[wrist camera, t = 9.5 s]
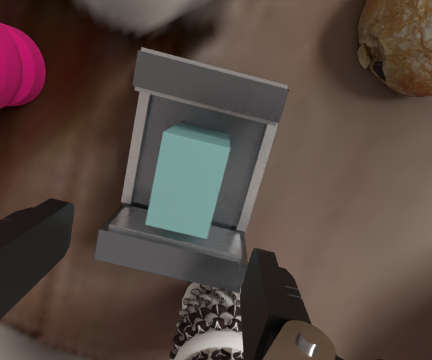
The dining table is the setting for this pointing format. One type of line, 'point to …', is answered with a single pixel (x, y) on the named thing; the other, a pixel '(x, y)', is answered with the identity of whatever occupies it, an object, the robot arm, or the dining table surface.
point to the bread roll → (398, 44)
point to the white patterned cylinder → (209, 325)
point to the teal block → (188, 179)
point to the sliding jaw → (209, 87)
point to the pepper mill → (19, 68)
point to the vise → (224, 210)
